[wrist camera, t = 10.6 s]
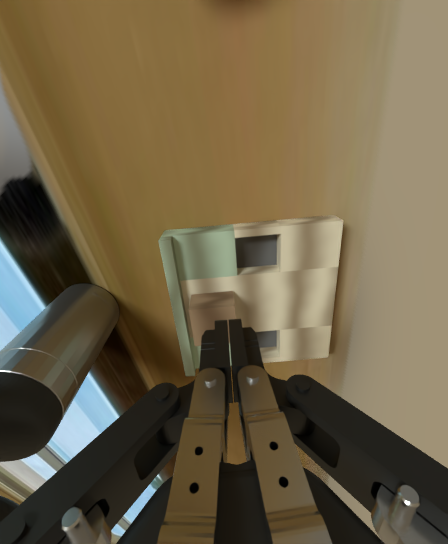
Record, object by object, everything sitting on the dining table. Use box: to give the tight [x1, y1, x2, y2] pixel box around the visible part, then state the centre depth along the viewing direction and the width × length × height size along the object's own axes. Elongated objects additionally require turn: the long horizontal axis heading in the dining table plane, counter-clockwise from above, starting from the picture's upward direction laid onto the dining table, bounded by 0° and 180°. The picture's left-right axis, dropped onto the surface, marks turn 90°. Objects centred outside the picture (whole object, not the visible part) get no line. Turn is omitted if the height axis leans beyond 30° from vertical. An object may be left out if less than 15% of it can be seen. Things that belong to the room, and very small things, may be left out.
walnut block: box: [189, 291, 236, 346], centre depth 37 cm, size 6×6×4 cm
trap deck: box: [159, 215, 343, 376], centre depth 39 cm, size 24×23×4 cm
